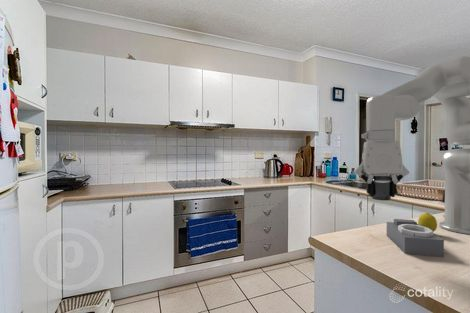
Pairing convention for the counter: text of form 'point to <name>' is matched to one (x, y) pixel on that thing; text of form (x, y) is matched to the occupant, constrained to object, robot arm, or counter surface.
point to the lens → (382, 187)
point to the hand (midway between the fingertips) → (381, 195)
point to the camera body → (415, 238)
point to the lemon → (428, 221)
